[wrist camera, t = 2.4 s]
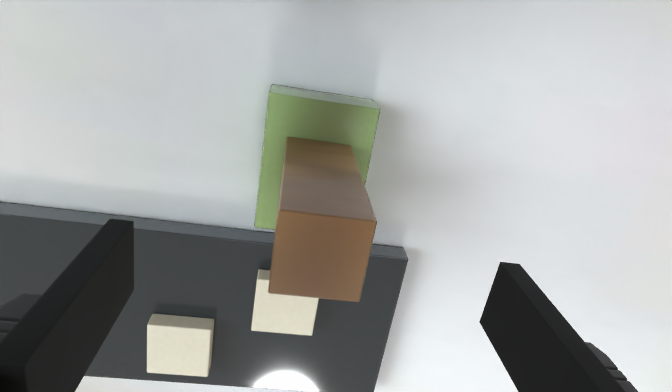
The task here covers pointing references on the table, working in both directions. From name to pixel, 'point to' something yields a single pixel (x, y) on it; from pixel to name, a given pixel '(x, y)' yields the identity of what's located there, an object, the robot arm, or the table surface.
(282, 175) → the scrub brush
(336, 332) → the slate
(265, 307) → the eraser
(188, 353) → the eraser
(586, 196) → the table surface
